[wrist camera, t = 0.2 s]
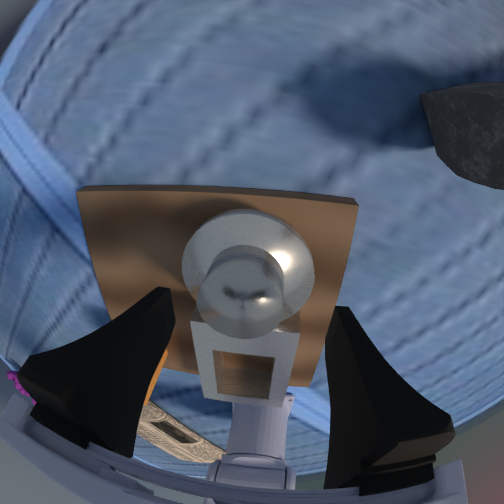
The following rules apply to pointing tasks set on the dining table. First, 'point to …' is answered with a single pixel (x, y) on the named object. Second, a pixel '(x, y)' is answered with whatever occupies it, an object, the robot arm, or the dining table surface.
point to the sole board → (174, 243)
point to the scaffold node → (247, 301)
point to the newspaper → (175, 436)
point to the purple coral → (17, 383)
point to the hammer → (469, 130)
